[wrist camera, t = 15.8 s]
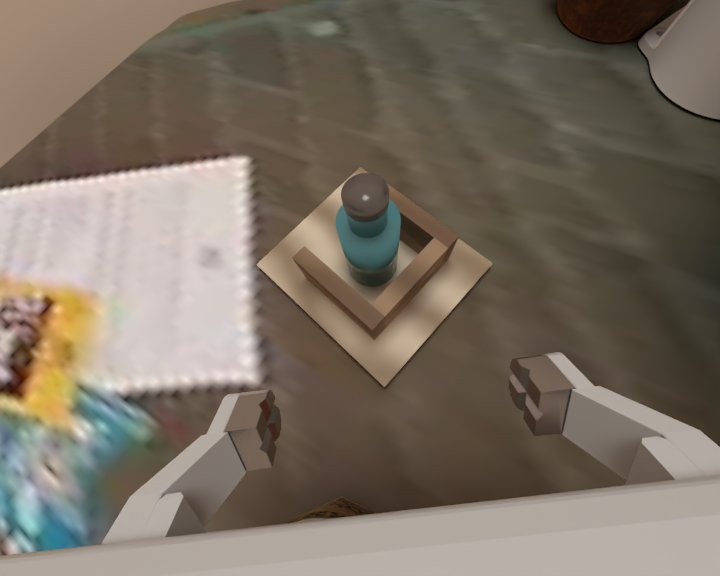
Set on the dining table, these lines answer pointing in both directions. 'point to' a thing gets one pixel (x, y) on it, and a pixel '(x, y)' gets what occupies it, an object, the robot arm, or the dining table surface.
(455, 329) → the dining table surface
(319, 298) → the bottle stand
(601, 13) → the case
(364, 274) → the teal bottle
